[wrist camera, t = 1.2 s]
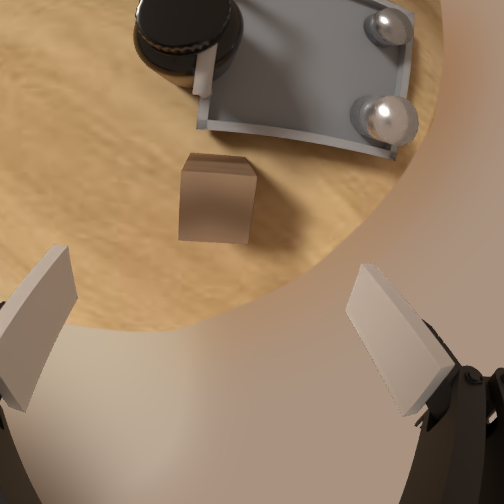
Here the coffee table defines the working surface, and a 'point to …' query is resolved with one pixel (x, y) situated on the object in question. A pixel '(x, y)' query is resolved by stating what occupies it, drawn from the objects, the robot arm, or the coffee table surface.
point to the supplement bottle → (186, 36)
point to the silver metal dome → (388, 28)
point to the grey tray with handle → (303, 73)
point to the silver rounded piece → (385, 118)
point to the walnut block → (216, 199)
